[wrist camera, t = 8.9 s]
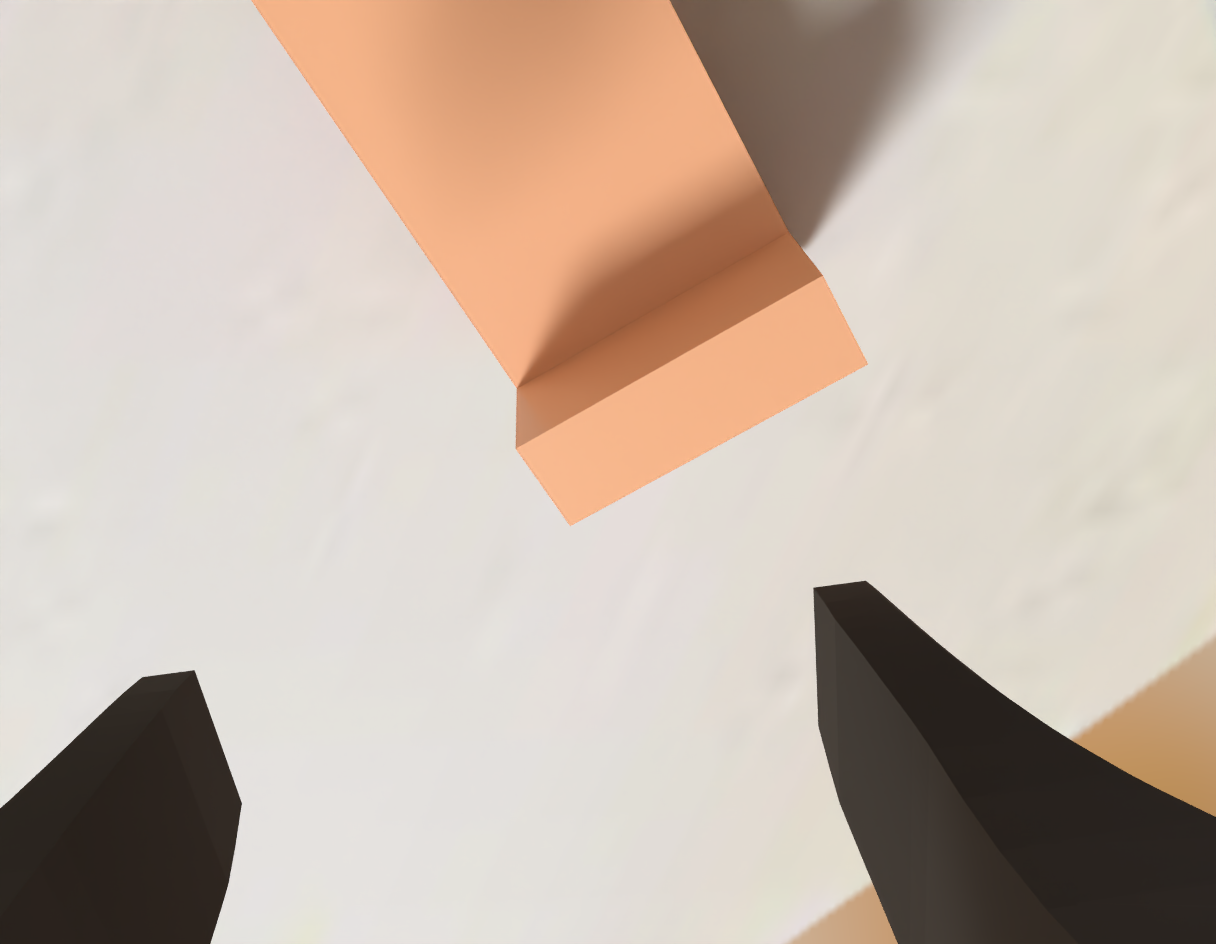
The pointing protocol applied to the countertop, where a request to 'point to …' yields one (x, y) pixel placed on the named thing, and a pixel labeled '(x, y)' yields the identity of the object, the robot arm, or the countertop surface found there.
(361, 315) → the countertop surface
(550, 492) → the peach l-shaped bracket
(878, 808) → the robot arm
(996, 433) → the countertop surface
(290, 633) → the countertop surface
